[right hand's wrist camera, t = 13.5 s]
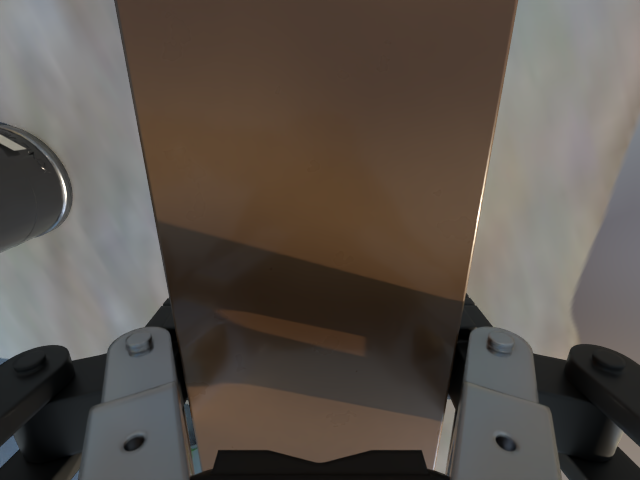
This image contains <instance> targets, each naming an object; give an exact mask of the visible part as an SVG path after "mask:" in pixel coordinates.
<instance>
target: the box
mask: <svg viewBox="0 0 640 480" xmlns="http://www.w3.org/2000/svg"><path fill="white" fill-rule="evenodd" d="M114 1H115V7H116V12H117V17H118V23H119V28H120V34H121V39H122V44H123V50H124V55H125V61H126V66H127V71H128V77H129V82H130V88H131V93H132V98H133V104H134V109H135V115H136V120H137V125H138V131H139V136H140V142H141V147H142V152H143V158H144V163H145V169H146V174H147V179H148V185H149V190H150V196H151V201H152V206H153V212H154V217H155V223H156V228H157V233H158V239H159V244H160V250H161V255H162V260H163V266H164V271H165V277H166V282H167V287H168V293H169V298H170V303H171V309H172V314H173V320H174V325H175V330H176V336H177V341H178V347H179V352H180V357H181V363H182V368H183V374H184V379H185V384H186V390H187V395H188V401H189V406H190V411H191V417H192V422H193V428H194V433H195V438H196V444H197V449H198V455H199V460H200V465H201V471H202V472H203V471H206V470H209V469H213V466H214V463H215V459H216V456H217V453H218V450H270V451H274V452H278V453H282V454H286V455H289V456H293V457H297V458H301V459H305V460H309V461H312V462H317V463H323V462H328V461H331V460H335V459H339V458H343V457H347V456H351V455H354V454H358V453H362V452H366V451H370V450H422V453H423V456H424V459H425V463H426V466H427V469H431V470H435V464H436V459H437V453H438V447H439V442H440V436H441V430H442V425H443V419H444V414H445V408H446V402H447V397H448V391H449V386H450V380H451V374H452V369H453V363H454V357H455V352H456V346H457V341H458V335H459V329H460V324H461V318H462V313H463V307H464V301H465V296H466V290H467V284H468V279H469V273H470V268H471V262H472V256H473V251H474V245H475V240H476V234H477V228H478V223H479V217H480V211H481V206H482V200H483V195H484V189H485V183H486V178H487V172H488V167H489V161H490V155H491V150H492V144H493V138H494V133H495V127H496V122H497V116H498V110H499V105H500V99H501V93H502V88H503V82H504V77H505V71H506V65H507V60H508V54H509V49H510V43H511V37H512V32H513V26H514V20H515V15H516V9H517V4H518V0H114Z"/></svg>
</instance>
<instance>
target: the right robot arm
mask: <svg viewBox="0 0 640 480" xmlns="http://www.w3.org/2000/svg"><path fill="white" fill-rule="evenodd" d="M71 205H72V187H71V183H70V179H69V177H68V174H67V172H66V170H65V168H64V166H63V164H62V163H61V161H60V160H59V158H58V157H57V156H56V155H55V153H54V152H53V151H52V150H51V149H50V148H49V147H48V146H47V145H46V144H44V143H43V142H42V141H41V140H39V139H38V138H36V137H35V136H33V135H32V134H30V133H28V132H26V131H24V130H22V129H19V128H16V127H13V126H9V125H4V124H0V253H1V252H3V251H5V250H8V249H10V248H12V247H15V246H17V245H19V244H21V243H23V242H26V241H28V240H30V239H32V238H35V237H39V236H41V235H44V234H46V233H48V232H50V231H52V230H54V229H56V228H57V227H59V226H60V225H61V224H62V223H63V222H64V221H65V219H66V218H67V216H68V214H69V212H70V209H71ZM447 399H451V400H452V403H453V405H454V407H455V415H454V420H453V427H452V433H451V440H450V446H449V453H448V459H447V465H446V472H445V474H442V473H440V472H437V471H434V470H431V469H427V466H426V463H425V459H424V456H423V453H422V450H370V451H366V452H362V453H358V454H354V455H351V456H347V457H343V458H339V459H335V460H331V461H328V462H323V463H317V462H312V461H309V460H305V459H301V458H297V457H293V456H289V455H286V454H282V453H278V452H274V451H270V450H218V453H217V456H216V459H215V463H214V466H213V469H209V470H206V471H203V472H200V473H198V474H195V472H194V465H193V459H192V452H191V446H190V440H189V433H188V427H187V420H186V415H185V409H184V404H185V402H186V400H188V395H187V390H186V384H185V379H184V374H183V368H182V363H181V357H180V352H179V347H178V341H177V336H176V330H175V325H174V320H173V314H172V309H171V303H170V298H168V299H167V300H166V301H165V302H164V304H163V306H161V307H160V309H159V310H158V311H157V312H156V314H155V315H154V316H153V317H152V319H151V320H150V321H149V323H148V324H147V325H146V326H145V327H144V328H139V329H136V330H133V331H130V332H128V333H126V334H124V335H122V336H120V337H119V338H117V339H116V340H115V341H114V342H113V343H112V344H111V345H110V347H109V348H108V351H107V353H106V354H103V355H98V356H93V357H89V358H84V359H79V360H74V361H72V360H71V357H70V354H69V351H68V349H67V348H65V347H63V346H59V345H48V346H41V347H37V348H34V349H30V350H28V351H25V352H22V353H20V354H18V355H16V356H14V357H12V358H10V359H9V360H7V361H6V362H4V363H3V364H1V365H0V446H2V445H3V444H4V443H5V442H6V441H7V440H8V439H9V438H10V437H11V436H12V435H13V436H14V438H15V440H16V442H17V444H18V447H19V450H18V451H17V452H16V453H15V454H14V455H13V456H12V457H11V458H10V459H9V460H8V461H7V462H6V463H5V464H4V465H3V466H2V467H1V468H0V480H71V479H72V478H73V476H74V475H75V474H76V473H77V471H78V470H79V469H80V470H79V476H78V480H562V476H561V470H562V471H563V473H564V474H565V475H566V476H567V478H568V479H569V480H640V468H639V467H638V466H637V465H636V464H635V463H634V462H633V461H632V460H631V459H630V458H629V457H628V456H627V455H626V454H625V453H624V452H623V451H622V450H621V449H620V448H619V447H618V444H619V442H620V439H621V437H622V435H623V432H624V433H626V434H627V435H628V436H629V437H630V438H631V439H632V440H633V441H634V442H635V443H636V444H637V445H638V446H640V365H639V364H637V363H636V362H634V361H633V360H631V359H630V358H628V357H626V356H625V355H623V354H621V353H618V352H616V351H614V350H611V349H608V348H605V347H601V346H597V345H591V344H580V345H576V346H573V347H572V348H571V350H570V352H569V355H568V358H567V360H562V359H557V358H552V357H547V356H542V355H538V354H533V351H532V348H531V346H530V345H529V344H528V343H527V342H526V341H525V340H524V339H523V338H521V337H520V336H518V335H516V334H514V333H512V332H510V331H507V330H504V329H501V328H496V327H493V326H492V325H491V324H490V323H489V321H488V320H487V319H486V317H485V316H484V315H483V314H482V312H481V311H480V310H479V309H478V307H477V306H475V303H474V302H473V301H472V300H471V298H469V296H468V295H467V293H466V296H465V301H464V307H463V313H462V318H461V324H460V329H459V335H458V341H457V346H456V352H455V357H454V363H453V369H452V374H451V380H450V386H449V391H448V397H447ZM560 469H561V470H560Z"/></svg>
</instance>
